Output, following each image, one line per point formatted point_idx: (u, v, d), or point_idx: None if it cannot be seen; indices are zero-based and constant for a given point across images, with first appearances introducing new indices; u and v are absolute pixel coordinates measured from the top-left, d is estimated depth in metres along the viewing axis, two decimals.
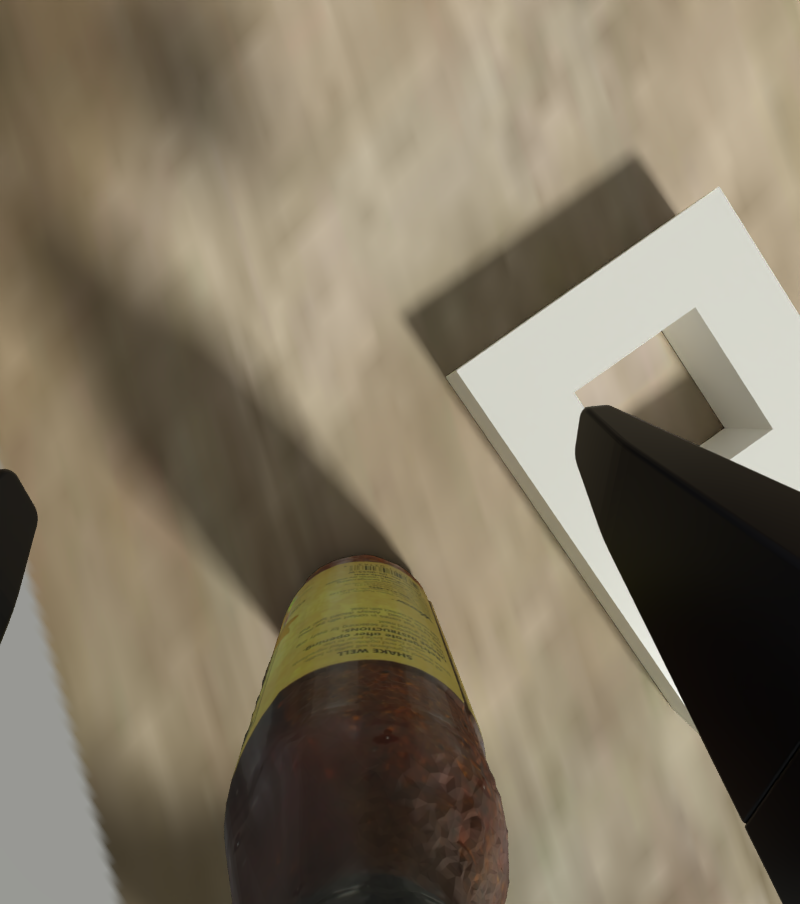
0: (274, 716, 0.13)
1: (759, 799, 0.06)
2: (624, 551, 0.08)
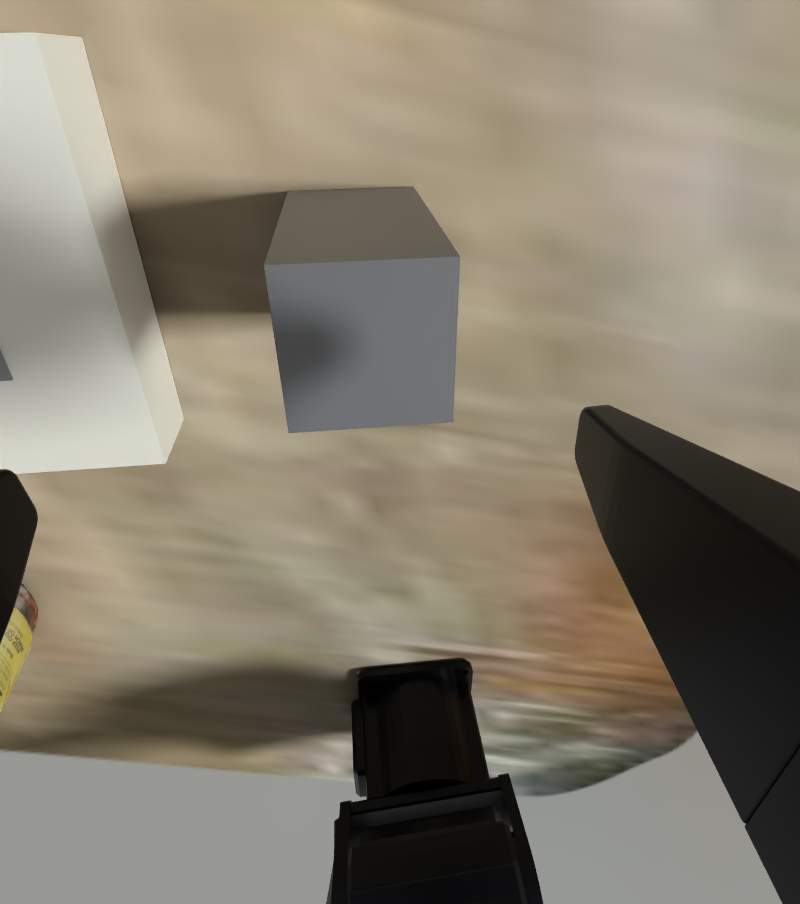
0: None
1: (759, 800, 0.06)
2: (624, 551, 0.08)
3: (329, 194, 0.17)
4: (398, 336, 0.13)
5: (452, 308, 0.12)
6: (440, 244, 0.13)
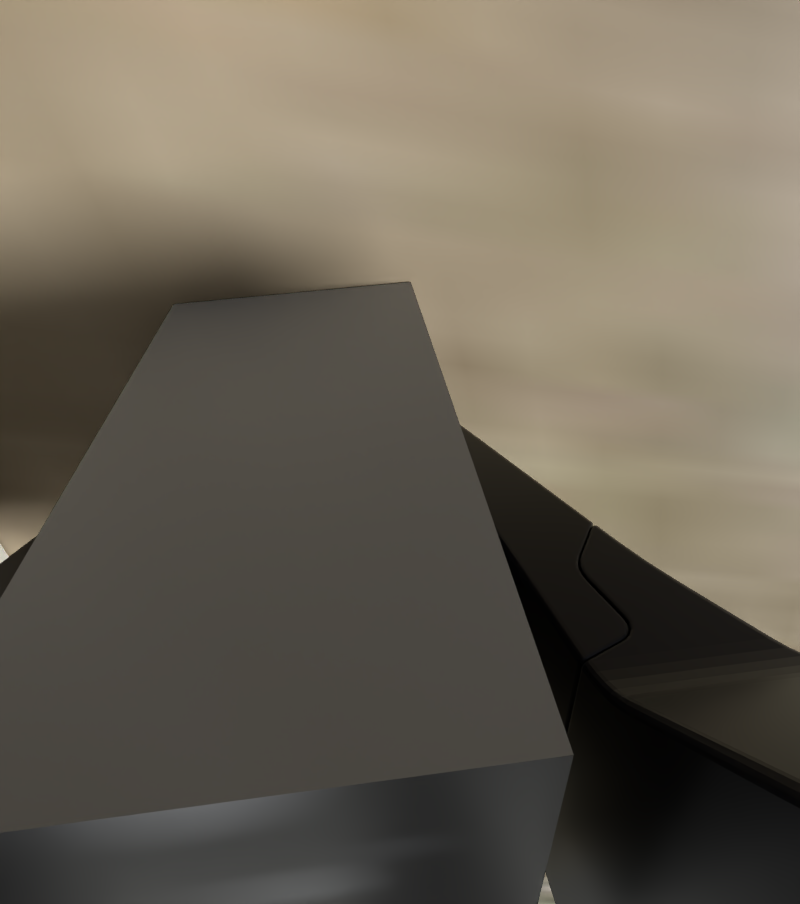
0: None
1: None
2: None
3: (247, 314, 0.09)
4: (372, 890, 0.04)
5: (539, 835, 0.04)
6: (491, 619, 0.04)
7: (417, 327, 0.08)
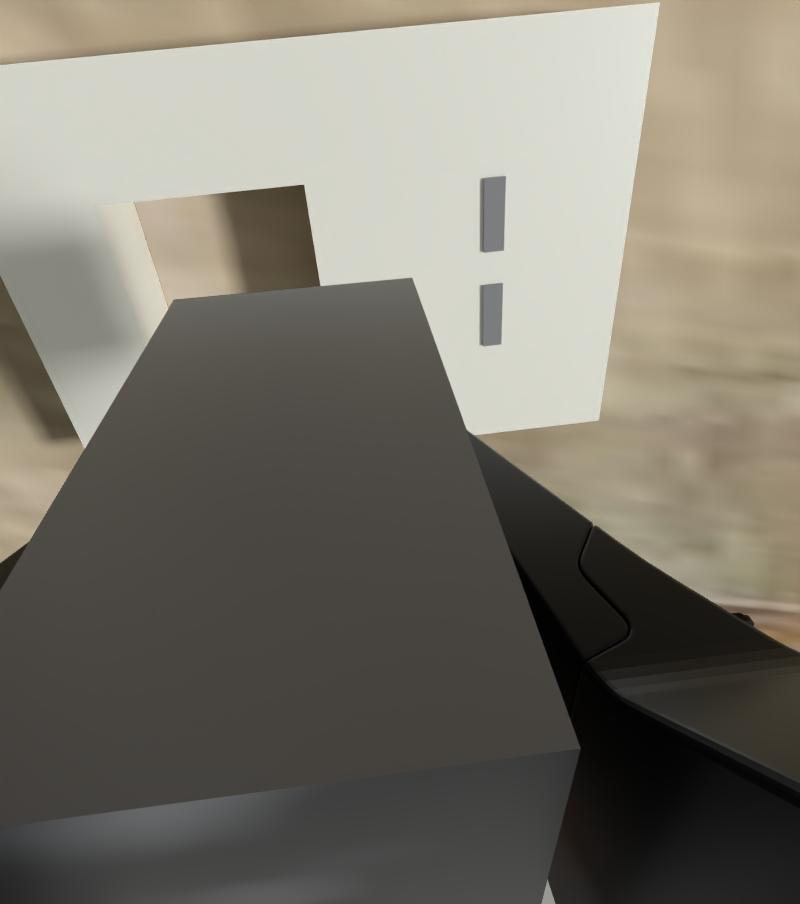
0: None
1: None
2: None
3: (247, 310, 0.09)
4: (375, 886, 0.04)
5: (544, 831, 0.04)
6: (495, 612, 0.04)
7: (419, 322, 0.08)
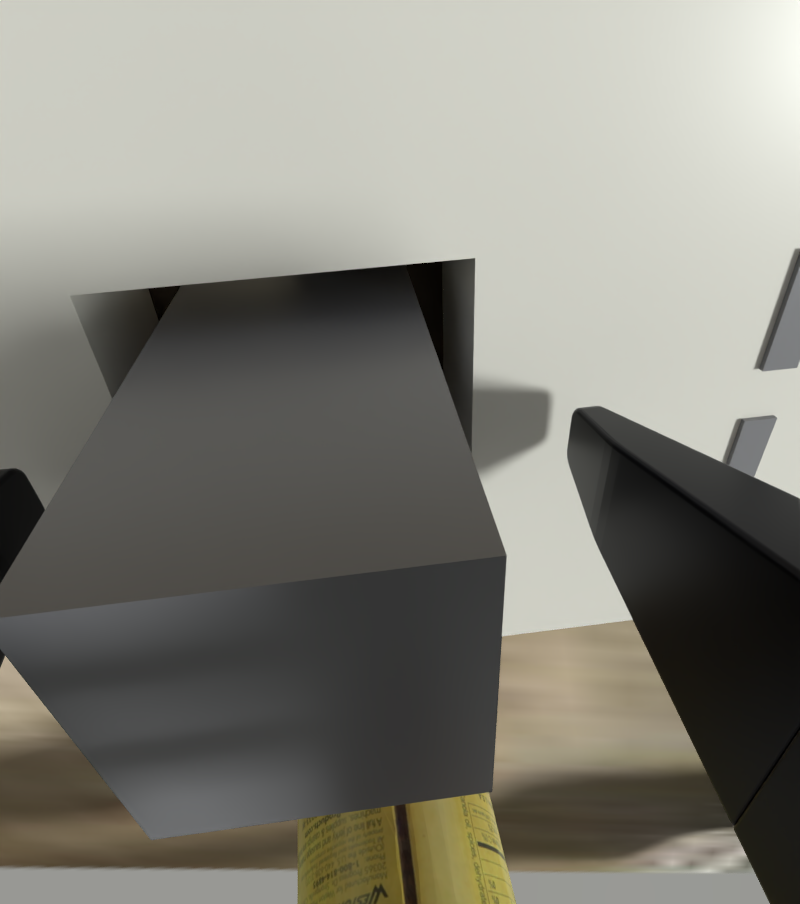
0: None
1: (748, 800, 0.06)
2: (615, 552, 0.08)
3: (255, 279, 0.10)
4: (361, 697, 0.05)
5: (490, 643, 0.05)
6: (452, 480, 0.05)
7: (404, 285, 0.09)
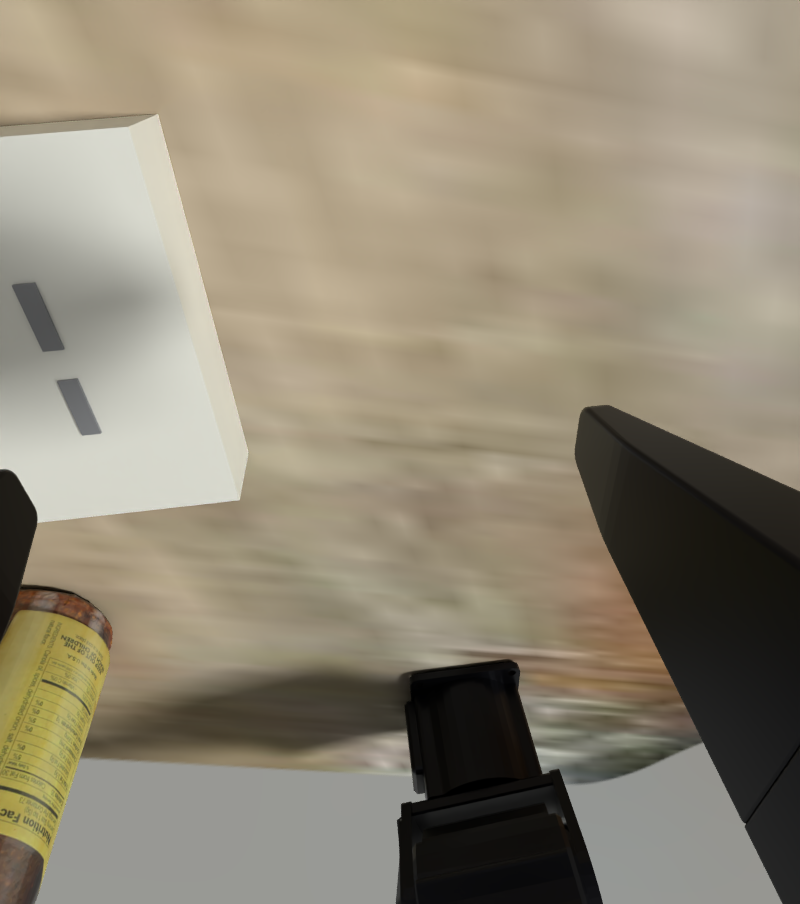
0: None
1: (759, 799, 0.06)
2: (624, 551, 0.08)
3: None
4: None
5: None
6: None
7: None
